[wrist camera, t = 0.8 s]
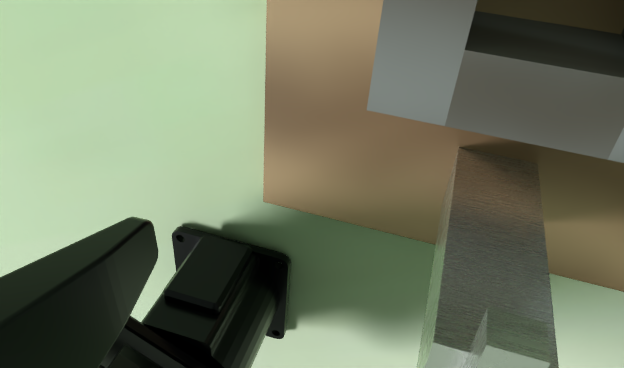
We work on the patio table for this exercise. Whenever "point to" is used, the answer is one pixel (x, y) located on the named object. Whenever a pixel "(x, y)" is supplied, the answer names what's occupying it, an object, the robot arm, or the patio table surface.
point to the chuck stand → (450, 113)
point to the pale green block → (490, 270)
